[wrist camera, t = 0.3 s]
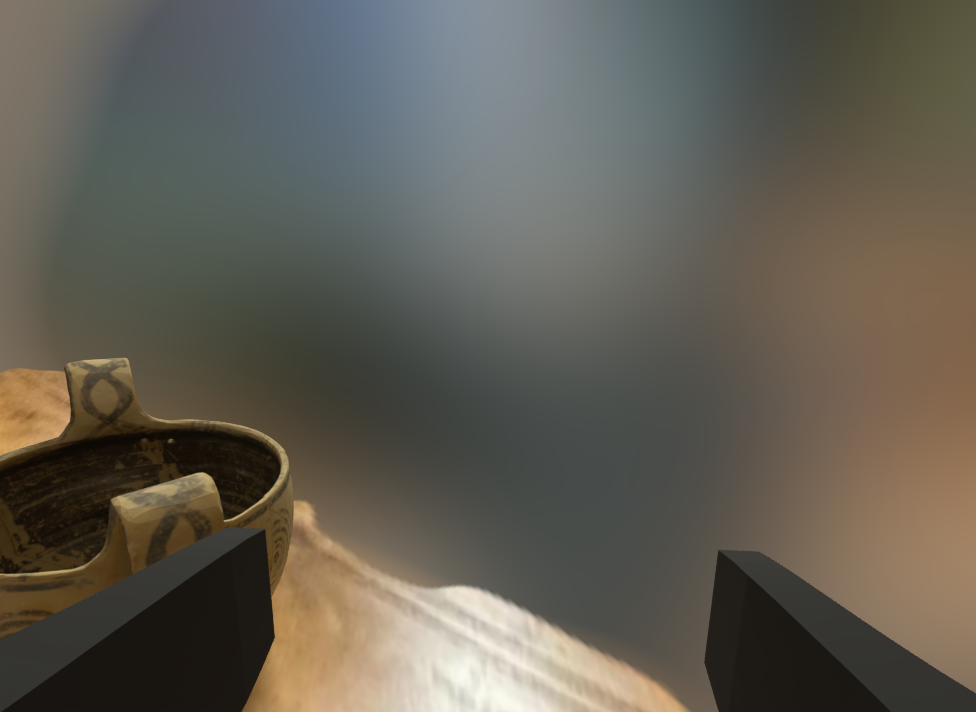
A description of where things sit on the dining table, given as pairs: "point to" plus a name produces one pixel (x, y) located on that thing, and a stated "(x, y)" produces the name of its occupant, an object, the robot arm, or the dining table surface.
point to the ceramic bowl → (127, 495)
